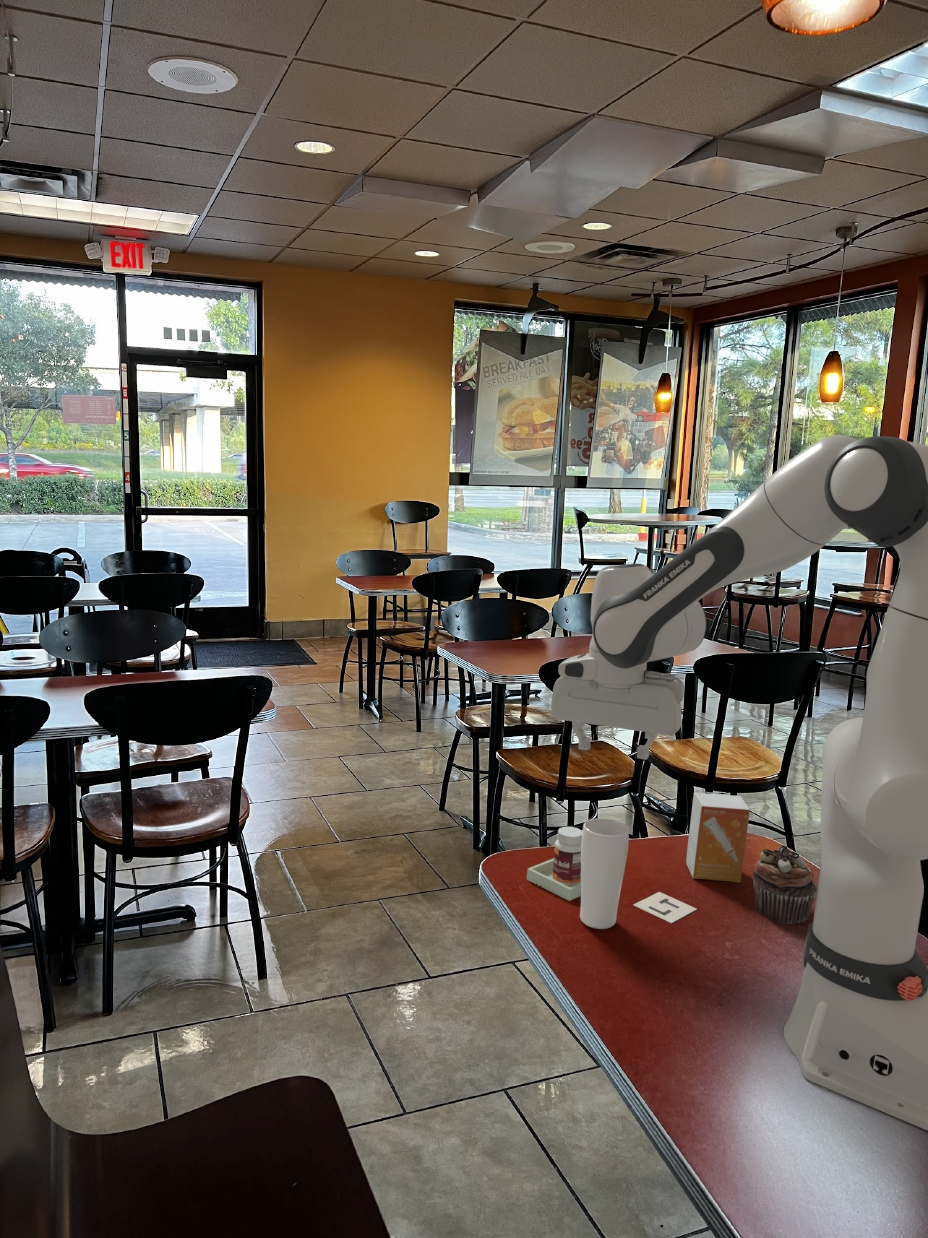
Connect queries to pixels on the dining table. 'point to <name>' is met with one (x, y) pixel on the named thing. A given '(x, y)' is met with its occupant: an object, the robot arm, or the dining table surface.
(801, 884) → the cupcake
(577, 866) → the pill bottle
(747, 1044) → the dining table surface
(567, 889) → the sage tray
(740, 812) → the small box
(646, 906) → the coaster
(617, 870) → the drinking glass
